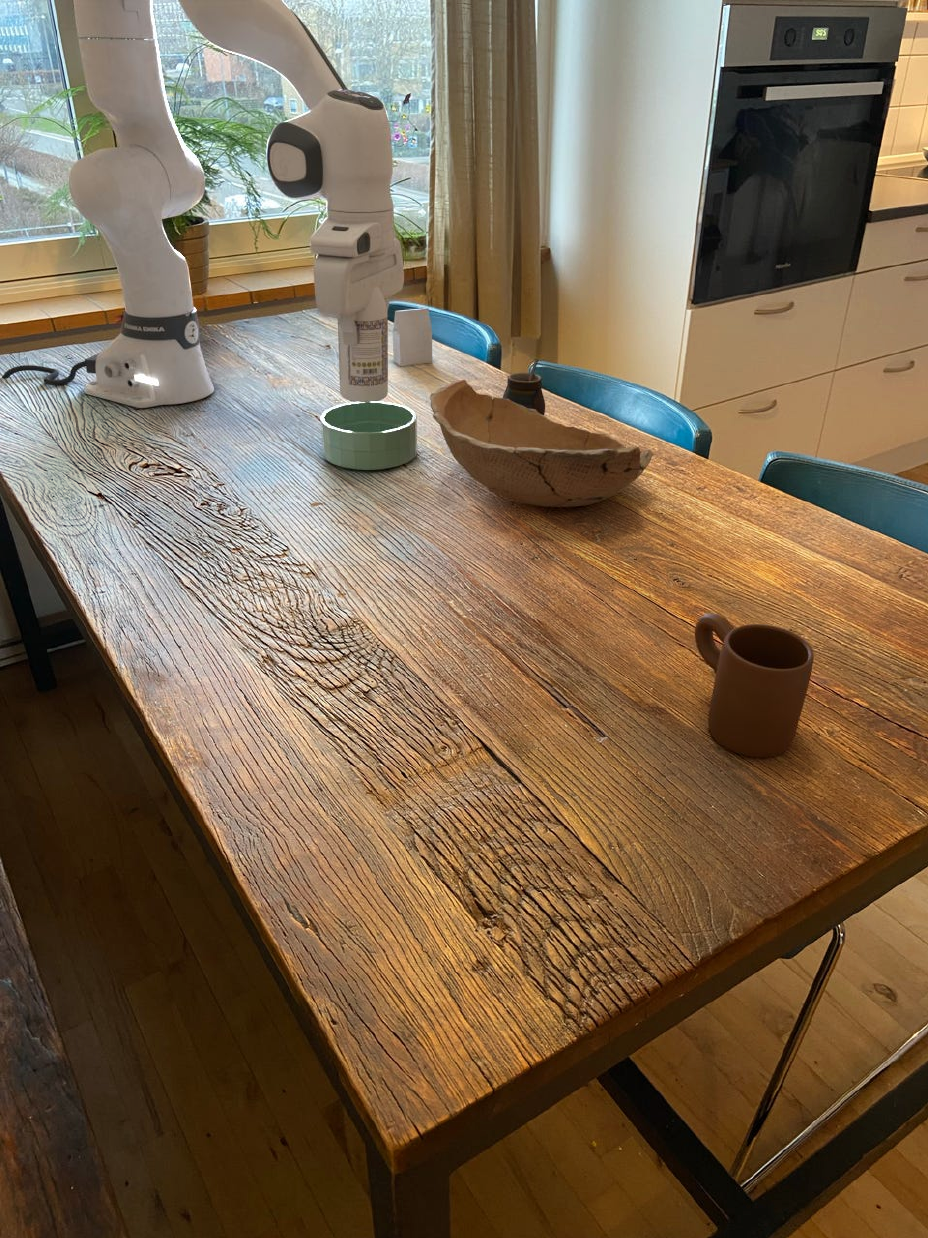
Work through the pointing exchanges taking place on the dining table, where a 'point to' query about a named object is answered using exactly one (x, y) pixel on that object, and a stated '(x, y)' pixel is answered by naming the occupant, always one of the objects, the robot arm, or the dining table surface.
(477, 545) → the dining table surface
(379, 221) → the robot arm
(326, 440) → the green pet bowl
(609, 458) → the ceramic bowl
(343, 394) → the bath foam
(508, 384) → the mate gourd
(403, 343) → the white boxy piece
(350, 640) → the dining table surface
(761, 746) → the mug
